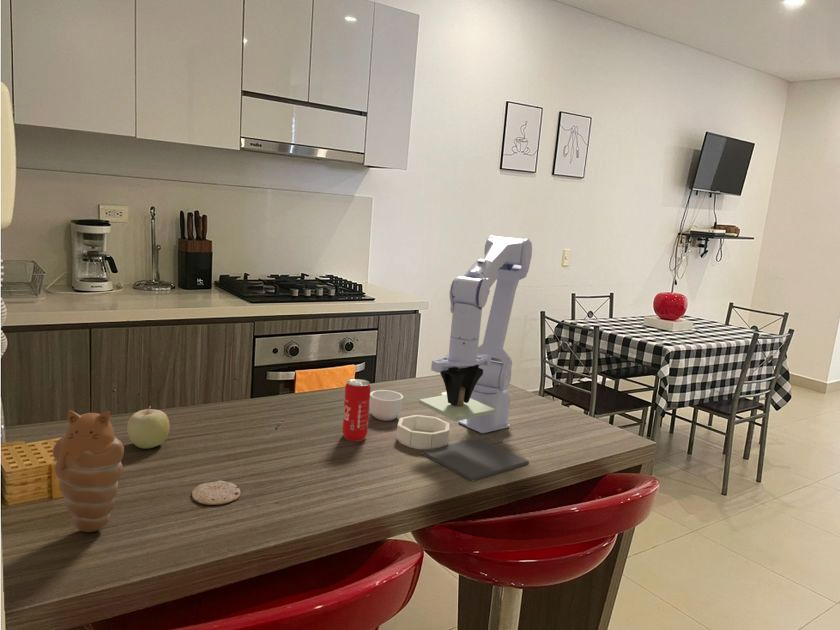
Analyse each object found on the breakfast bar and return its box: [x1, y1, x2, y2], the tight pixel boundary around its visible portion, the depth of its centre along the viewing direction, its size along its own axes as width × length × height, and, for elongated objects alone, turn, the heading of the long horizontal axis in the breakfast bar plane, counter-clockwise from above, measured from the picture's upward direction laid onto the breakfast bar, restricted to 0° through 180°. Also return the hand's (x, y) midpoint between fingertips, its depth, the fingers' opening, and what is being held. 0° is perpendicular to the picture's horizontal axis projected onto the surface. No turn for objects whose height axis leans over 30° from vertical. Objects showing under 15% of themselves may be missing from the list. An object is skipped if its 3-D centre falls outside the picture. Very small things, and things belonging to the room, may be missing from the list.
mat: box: [422, 437, 530, 482], centre depth 127 cm, size 16×14×1 cm
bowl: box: [396, 414, 451, 451], centre depth 134 cm, size 11×11×4 cm
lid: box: [418, 386, 495, 422], centre depth 128 cm, size 11×11×4 cm
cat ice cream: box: [52, 409, 125, 533], centre depth 88 cm, size 9×8×18 cm
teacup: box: [369, 389, 404, 422], centre depth 146 cm, size 10×8×5 cm
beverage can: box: [342, 378, 371, 442], centre depth 132 cm, size 5×5×12 cm
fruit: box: [126, 405, 171, 450], centre depth 119 cm, size 8×7×8 cm
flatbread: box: [191, 479, 241, 506], centre depth 103 cm, size 8×8×1 cm
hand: (458, 402), depth 128 cm, fingers closed on lid, 3 cm apart
